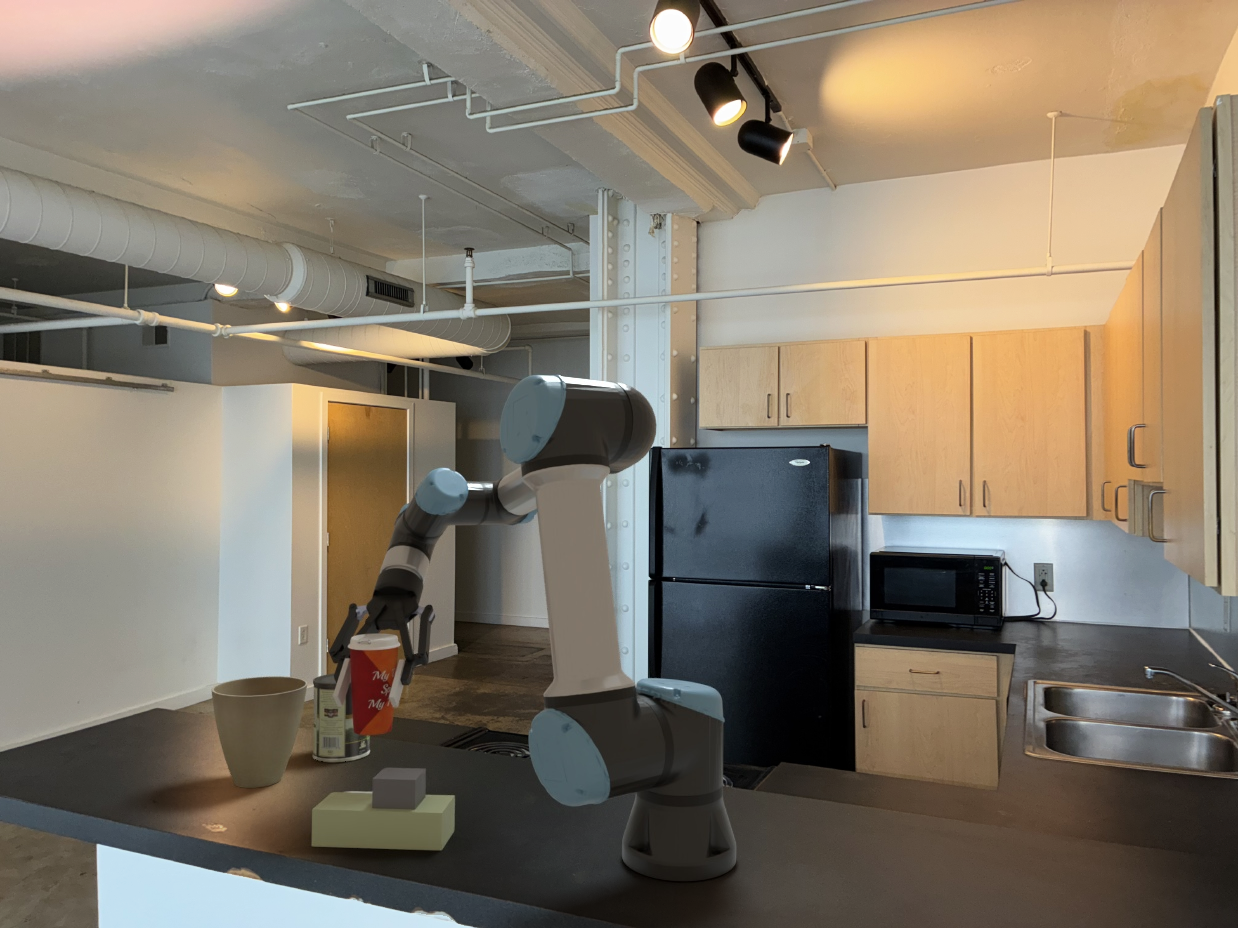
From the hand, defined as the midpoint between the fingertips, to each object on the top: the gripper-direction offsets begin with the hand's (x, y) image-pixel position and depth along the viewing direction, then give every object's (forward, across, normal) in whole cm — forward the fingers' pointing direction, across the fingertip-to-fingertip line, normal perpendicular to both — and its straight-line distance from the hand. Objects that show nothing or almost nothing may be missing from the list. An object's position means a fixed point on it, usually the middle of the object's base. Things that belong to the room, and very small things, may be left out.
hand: (365, 701), depth 130 cm
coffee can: (-11, +16, -36) cm, 41 cm away
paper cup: (+1, 0, -6) cm, 6 cm away
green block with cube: (+13, -4, -12) cm, 18 cm away
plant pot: (+1, +24, -25) cm, 35 cm away
